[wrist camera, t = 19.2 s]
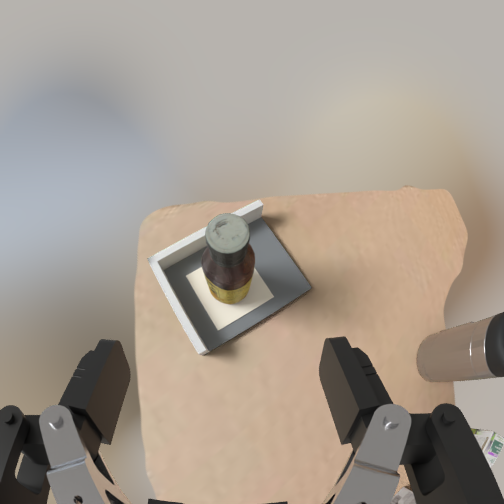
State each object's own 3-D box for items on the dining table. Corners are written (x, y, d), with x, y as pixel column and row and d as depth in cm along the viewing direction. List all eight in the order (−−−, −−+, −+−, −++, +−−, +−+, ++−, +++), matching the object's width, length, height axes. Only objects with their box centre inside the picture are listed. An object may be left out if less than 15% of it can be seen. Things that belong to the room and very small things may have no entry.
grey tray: (257, 214, 50) (259, 199, 45) (310, 289, 45) (318, 280, 41) (155, 269, 45) (147, 258, 40) (202, 355, 40) (198, 354, 36)
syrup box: (457, 431, 35) (507, 436, 21) (444, 457, 33) (492, 468, 19) (442, 423, 36) (495, 429, 22) (428, 450, 34) (479, 463, 20)
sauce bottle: (208, 268, 44) (192, 197, 26) (248, 266, 45) (258, 195, 26) (210, 309, 42) (191, 262, 23) (251, 307, 42) (265, 259, 24)
